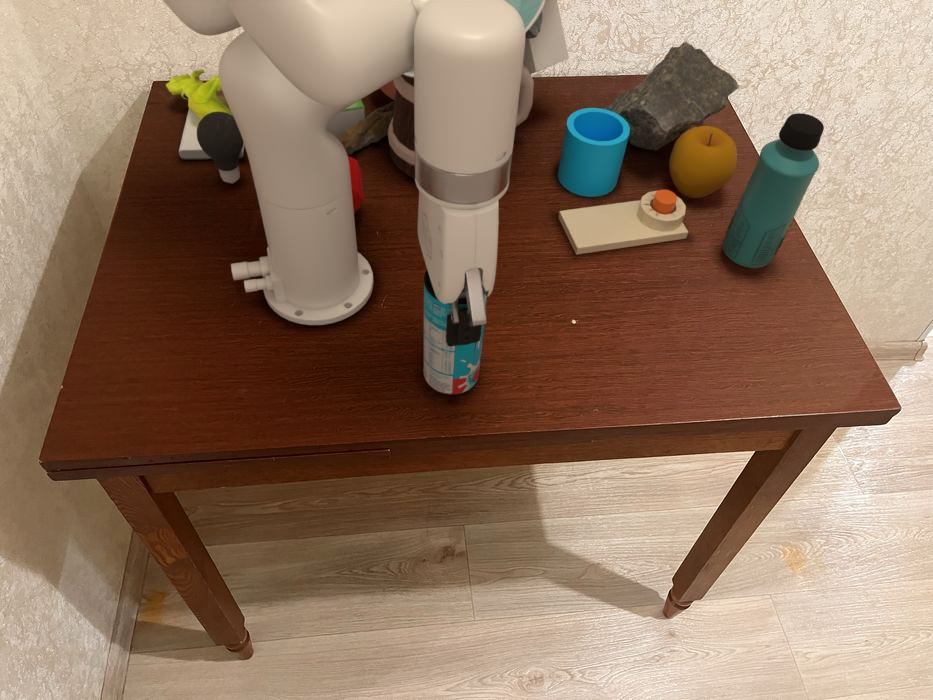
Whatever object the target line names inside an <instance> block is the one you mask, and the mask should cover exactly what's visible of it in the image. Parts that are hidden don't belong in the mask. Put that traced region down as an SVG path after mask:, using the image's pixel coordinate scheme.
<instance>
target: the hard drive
mask: <svg viewBox="0 0 933 700" xmlns="http://www.w3.org/2000/svg"><path fill="white" fill-rule="evenodd" d="M201 120H202V119H200V118H199V117H198V116H197V115H196V114H195V113H194V112H193V111H192V110H190V109H189V108H188V111H187V115H186V120H185V124H184V127H183V131H182V135H181V136H182V137H181V140H180V144H179V149H178V154H179V157H180V159H182V160H213V159H212V158H210V157H209V156H208V155H207V154H206V153H205V152H204V151H203V150H202V148H201V147H200V145H199V142H198V140H197V127H198V124H199V122H200V121H201ZM244 152H245V145H244V144H243V148H242V150H241V152H240V154H239V159H242V158H244Z"/></svg>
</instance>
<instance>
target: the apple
mask: <svg viewBox="0 0 933 700" xmlns="http://www.w3.org/2000/svg"><path fill="white" fill-rule="evenodd" d="M668 161H669V162H668V165H669V167H668V168H669V173H670V178H671V180H672V183H673V185H674V187H675V188H676V190H677V191H678V193H680V194H681V195H682V196H684V197H686V198H690V199H702V198H704V197H708V196H709V195H711V194H713V193H715V192H717V191H718V190H720V189H722V188H723V187H725V185H726V184H728V183H729V182H730V181H731V180H732V179H733V177H734V175H735V174H736V173H735V172H736V169H737V164H738V147H737V146H736V143H735V141H734V139H733V138H732V137H731V136H730V135H729V134H727V133H726V132H725V131H723V130H721V129H720V128H717V127H715V126H711V125H700V126H699V127H693V128H691V129H689V130H687V131H686V132H684V133H680V135H679V136H678V137H677V138H676V139H675V142H674V145H673V148H672V150H671V153H670V157H669V160H668Z"/></svg>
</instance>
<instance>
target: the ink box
mask: <svg viewBox="0 0 933 700" xmlns="http://www.w3.org/2000/svg"><path fill="white" fill-rule="evenodd" d="M366 117H367V116H366V106H365V105H364V103H363V100H362V99H360V100H359V101H357V102H355V103H354V104H352V105H350V106H349V107H347V108H346V109H345V110H343V111H342V112H340V113H338V114H337V115H335V116H334V117H333V118H332V119H330V121H329V122H328V124H327V127H326V129H327V131H328V132H330V133H331V134H333V135H334V136H335V137H336V138H338V137H340V136H341V135H343V134H344V133H345V132H346V130H347V129H348V128H350V127H352V126H354V124H357V123H359V121H361V120H363V119H366Z"/></svg>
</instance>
